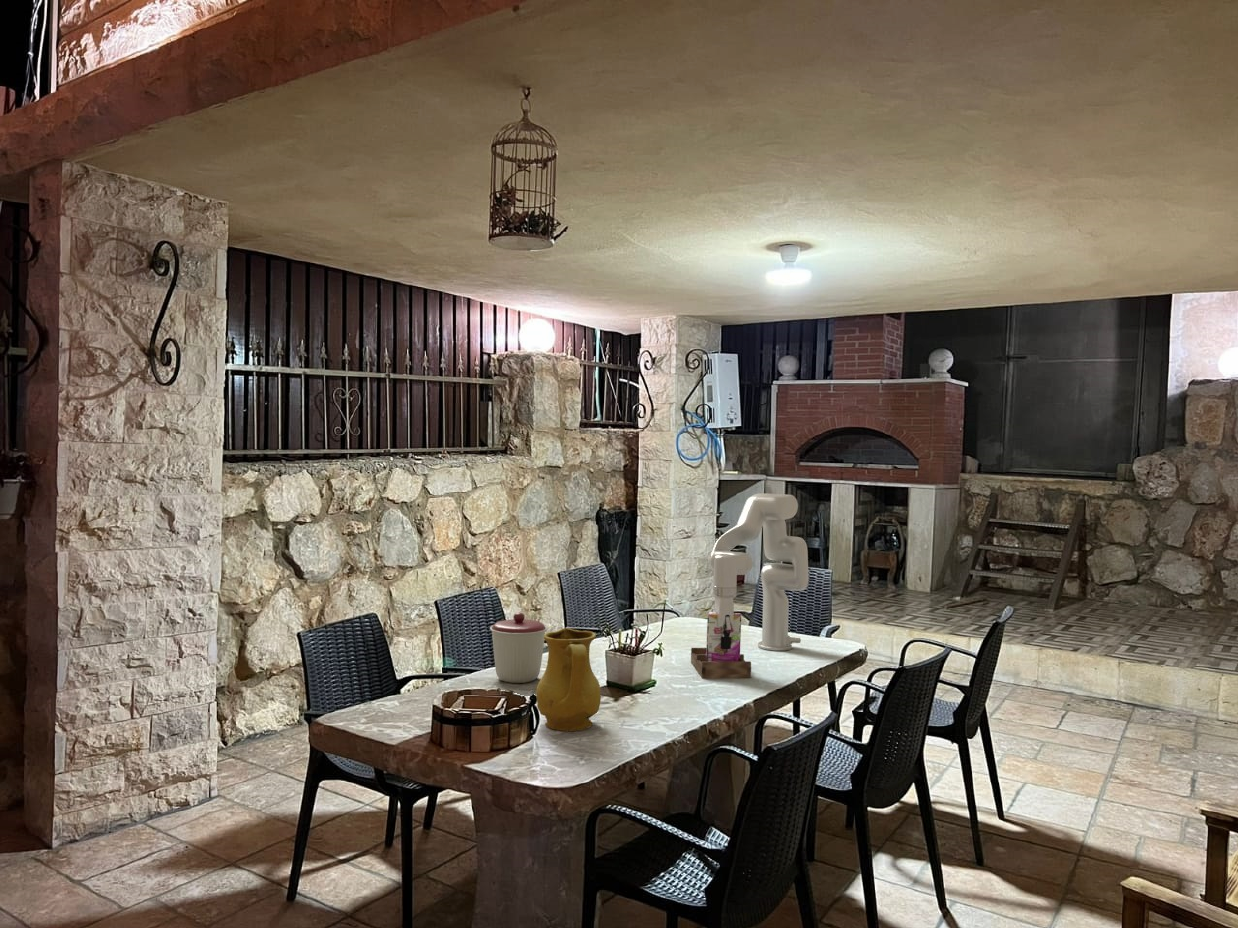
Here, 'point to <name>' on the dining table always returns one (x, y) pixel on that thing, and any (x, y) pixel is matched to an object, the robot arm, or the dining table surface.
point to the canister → (518, 648)
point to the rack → (719, 666)
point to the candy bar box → (715, 636)
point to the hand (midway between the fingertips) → (723, 646)
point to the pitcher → (568, 682)
